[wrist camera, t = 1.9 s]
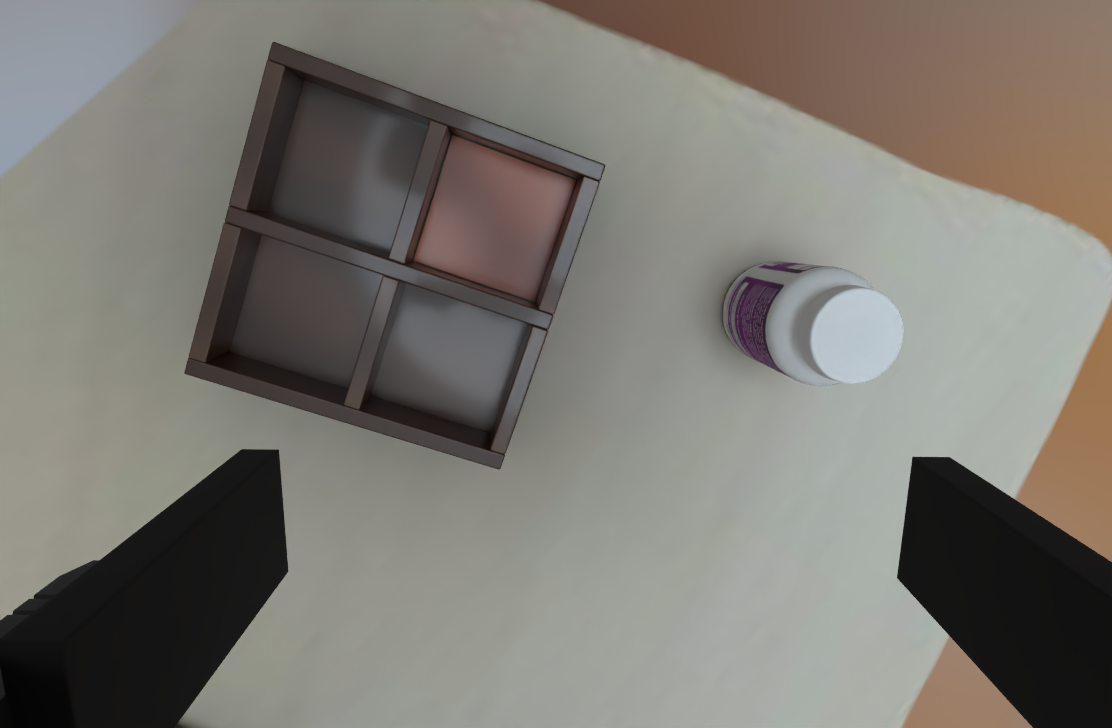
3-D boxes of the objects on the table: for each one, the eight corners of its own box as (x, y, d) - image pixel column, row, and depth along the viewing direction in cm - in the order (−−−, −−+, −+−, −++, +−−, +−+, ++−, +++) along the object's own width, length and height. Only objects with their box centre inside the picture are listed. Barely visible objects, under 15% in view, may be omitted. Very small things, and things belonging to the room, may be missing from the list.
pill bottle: (761, 379, 39) (844, 428, 30) (700, 307, 38) (766, 334, 29) (837, 313, 39) (946, 341, 29) (777, 238, 38) (871, 243, 28)
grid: (295, 60, 34) (271, 40, 31) (595, 170, 36) (606, 164, 33) (214, 359, 37) (183, 373, 33) (500, 447, 39) (499, 470, 35)
